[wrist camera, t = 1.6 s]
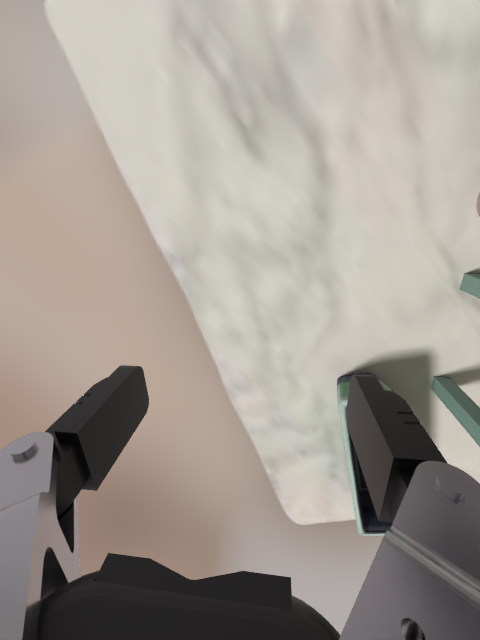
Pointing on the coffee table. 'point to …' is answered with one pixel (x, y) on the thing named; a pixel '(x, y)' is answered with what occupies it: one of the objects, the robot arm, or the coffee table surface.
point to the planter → (358, 470)
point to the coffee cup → (478, 205)
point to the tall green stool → (449, 393)
